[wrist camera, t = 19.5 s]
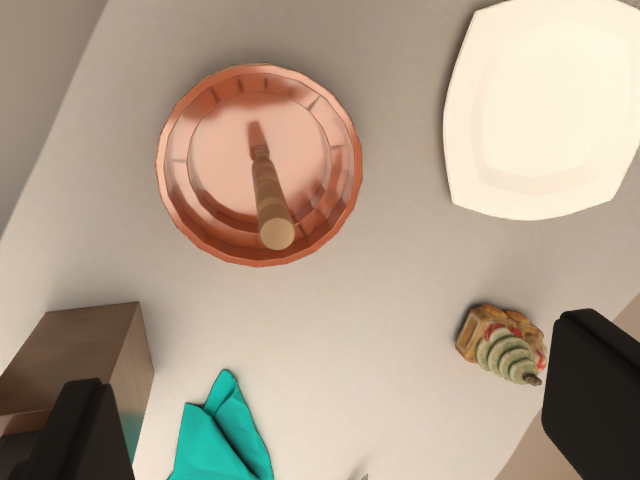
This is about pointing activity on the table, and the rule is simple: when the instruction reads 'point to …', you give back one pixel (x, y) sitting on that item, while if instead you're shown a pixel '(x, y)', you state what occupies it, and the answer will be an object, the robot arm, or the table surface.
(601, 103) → the plate
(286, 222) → the stick
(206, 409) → the cloth
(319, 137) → the bowl
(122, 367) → the utensil stand
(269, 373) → the table surface
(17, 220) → the table surface
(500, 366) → the ornament
